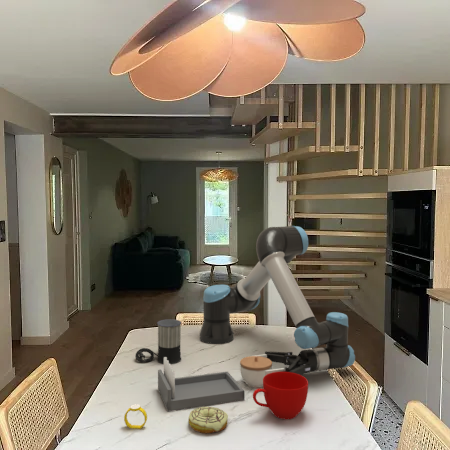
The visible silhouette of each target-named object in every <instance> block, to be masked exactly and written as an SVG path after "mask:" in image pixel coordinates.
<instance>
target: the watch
mask: <svg viewBox="0 0 450 450" xmlns="http://www.w3.org/2000/svg"><path fill="white" fill-rule="evenodd" d="M130 411H131V412H138V411H139V412H140V413H142V415H143V416H144V422H143V423H141V425H138V424H137V425H136V424H131V423H130V422H129V419H128V413H129V412H130ZM123 418H124V419H123V421H124V423H125V425H126V426H127V428H128V429H133V430H134V429H135V430H136V429H137V430H138V429H140V430H141V429H142V428H144V427H145V425H146V422H147V420H148V415H147V412H146V410H145V409H144V408H143V407H141V404H138V403H136V404H132V405H130V407H129V408H128V409H127V411H125V413H124V417H123Z"/></svg>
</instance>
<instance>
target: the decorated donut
mask: <svg viewBox="0 0 450 450" xmlns="http://www.w3.org/2000/svg"><path fill="white" fill-rule="evenodd" d="M228 419H229V415H228V413H227V412H226V411H225V410H222V409H221V408H219V407H213V406H202V407H196V408H193V410H191V411H190V412H189V415H188V421H187V422H188V423H189V426H190V427H191V429H193V431H195V432H198V433H201V434H205V435H206V434H212V433H217V432H221V431H223V430H224V429H226V428H227V426H228Z"/></svg>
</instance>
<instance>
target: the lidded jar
mask: <svg viewBox="0 0 450 450" xmlns="http://www.w3.org/2000/svg"><path fill="white" fill-rule="evenodd" d="M239 365H240V366H239V367H240V375H241V378H242V380H243V382H244V383H246V385H247V387H250V388H252V389H253V388H255V389H259V388H260V389H262V388H263V378H264V376H265V370H273V368H272V366H273V362H272V361H271V360H270V359H268V358H265V357H261V356H255V355H249V356H246V357H242V358H241V359H240V361H239Z"/></svg>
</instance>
